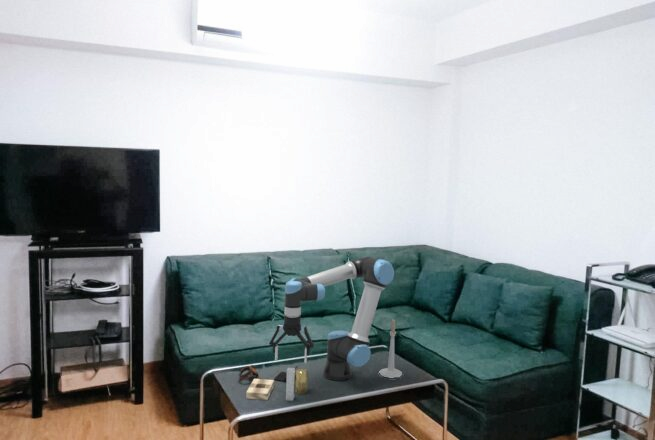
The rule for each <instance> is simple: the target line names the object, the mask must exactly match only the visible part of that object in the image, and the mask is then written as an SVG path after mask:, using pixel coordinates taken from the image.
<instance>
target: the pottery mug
mask: <svg viewBox="0 0 655 440" xmlns="http://www.w3.org/2000/svg"><path fill="white" fill-rule="evenodd" d="M246 371H247V372H246ZM244 372H246V373H244ZM238 376H239V377H238V379H239V381H244V380H246V381H248V380H249V377H255V379H260V376H259V373H258V371H257V369H256V366H255V365H253V364H251V365H247V366H245V367H243V368H242V369H241V370H240V371H239V373H238Z"/></svg>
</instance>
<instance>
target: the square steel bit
mask: <svg viewBox="0 0 655 440" xmlns="http://www.w3.org/2000/svg"><path fill="white" fill-rule="evenodd" d="M295 368H296V367H287V369H286V372H287V379H286V381H285V383H286V387H285V400H286V401H292V402H293V401H294V399H295V392H296V369H295Z"/></svg>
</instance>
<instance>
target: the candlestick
mask: <svg viewBox="0 0 655 440" xmlns="http://www.w3.org/2000/svg"><path fill="white" fill-rule="evenodd" d="M390 324H391V325H390V331H389V335H390V341H389V342H390V343H389V344H390V345H389V350H388V351H389V353H388V362H387V367H385V368H382V369H380V370H379V372H378V374H379V373H380V374H381V375H382V376H384V377H389V378H394V377H400V376H401V375H402V373H403V372H402V371H401V370H399V369H397V368H396V367H395V365H396V364H395V336H396V334H397V332H396V319H394V318H393V319H391V323H390Z"/></svg>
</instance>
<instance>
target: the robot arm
mask: <svg viewBox="0 0 655 440" xmlns="http://www.w3.org/2000/svg"><path fill="white" fill-rule="evenodd" d="M394 276H395V269H394V267H393V265H392V263H391V262H390V261H387V260H385V259H382V258H378V257H377V258H376V257H372V256H362V257H361V256H360V257H358V258H355V259H350V260H348V261H347V262H346V263H345V264H343V265H342V264H341V265H339V266H336V267H333V268H330V269H327V270H323V271H320V272H317V273H315V274H311V275H308V276H305V277H301V278H298V277H293V278H291V279H290V280H289V281H286V283H285V287H284V316H283V325H281V324H280V323H279V324H277V326H276V330H275V332H274V334H273V336H272V337H271V339H270V341H269V345H270V346H272V354H274V361H275V362H276V361H278V359H279V357H278V355H279V345H278V344H279V343H280V342H281V341H282V340H283V339H284V338H285V336H286V335H287V336H289V337H291V336H292V337H296V336H297V338H298V340H300V341H301V342H302V344H303V346H304V359H303V360H304V363H305V364H307V361H308V356H309V355H310V349H311V348H314V342H313V340H312V337H311V335H310V333H309V330H308V326H307V325H305V326H301V325H302V323H301V322H302V321H301V318H302V317H301V315H302V302H303V303H304V302H313V301H316V302H317V301H321V300H323V299H324V298H325V296H326V288H325V287H328V286H331V285H333V284H337V283H339V282H343V281H345V280H348V279H351V280H355V279H356V280H357V279H363V280H362V283H363V285H364V288H363V291H362V295H361V299H360V301H359V305H358V309H357V312H356V315H355V318H354V322H353V324H352V327H351V331H347V330H333V331H330V332H329V333H328V334H327V344H326V345H327V348H326V362H325V365H324V368H323V371H322V376H323V378H326V379H327V380H331V381H340V382H341V380H342V381H347V380H346V379H348V380H349V378H350V379H351V378H352V377H353V370H352V367H351V366H353V367H355V368H360V367H363V366H364V365H365V364H367V363H368V362H369V360H370V358H371V355H372V351H371V348H370V346H369V344H370V339H369V334H370V331H371V327H372V324H373V320H374V318H375V314H376V309H377V307H378V303H379V299H380V297H381V294H382V291H384V290H385V289H387V288H386V287H387V285H389V284H390V283H392V281H393V279H394ZM281 330H283V331H284V332H283V333H282V334H281V335H280V336H279V337H278V338H277V339H276V337H277V335H278V334H279V332H280V331H281ZM301 331H302V332H304V335H305V338H304V336H303V334H302V333H301ZM275 339H276V340H275ZM306 339H307V340H306ZM351 376H352V377H351Z"/></svg>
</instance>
